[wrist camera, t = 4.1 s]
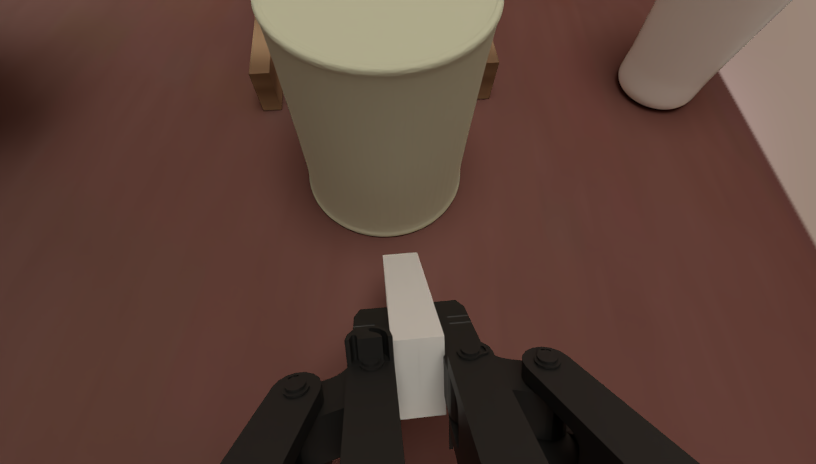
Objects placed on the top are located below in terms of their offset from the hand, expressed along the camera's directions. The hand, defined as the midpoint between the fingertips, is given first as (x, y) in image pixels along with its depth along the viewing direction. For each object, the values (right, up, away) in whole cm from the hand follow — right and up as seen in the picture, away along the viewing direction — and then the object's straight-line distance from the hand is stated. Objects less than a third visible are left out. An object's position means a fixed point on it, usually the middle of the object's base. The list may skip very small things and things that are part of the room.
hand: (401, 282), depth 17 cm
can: (-1, +6, +7) cm, 9 cm away
